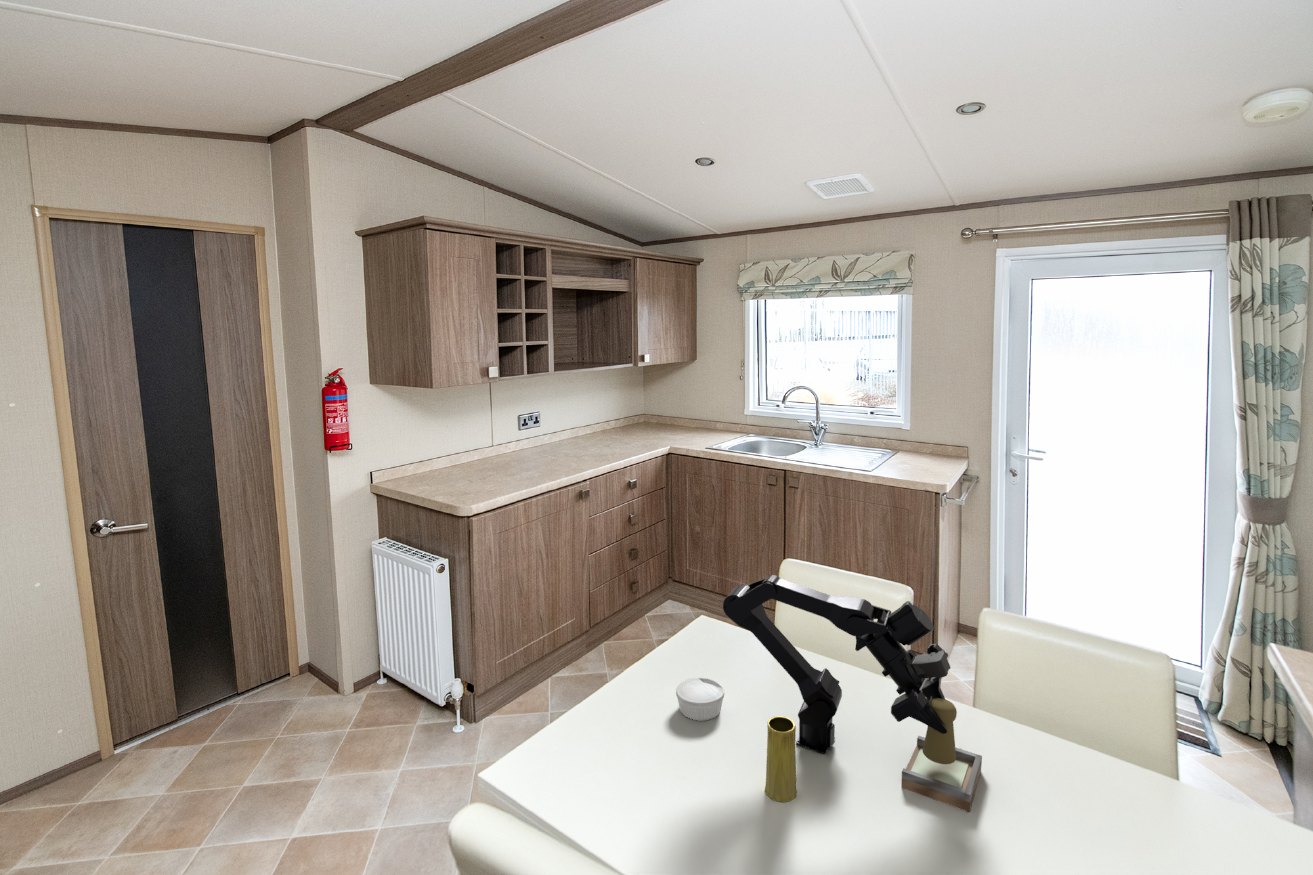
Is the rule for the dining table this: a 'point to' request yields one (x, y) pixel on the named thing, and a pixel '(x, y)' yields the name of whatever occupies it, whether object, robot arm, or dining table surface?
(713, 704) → the ramekin
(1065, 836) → the dining table surface
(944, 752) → the olive domed stopper
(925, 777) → the wooden tray
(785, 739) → the vase
